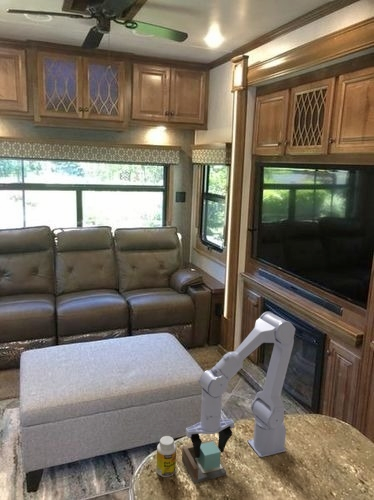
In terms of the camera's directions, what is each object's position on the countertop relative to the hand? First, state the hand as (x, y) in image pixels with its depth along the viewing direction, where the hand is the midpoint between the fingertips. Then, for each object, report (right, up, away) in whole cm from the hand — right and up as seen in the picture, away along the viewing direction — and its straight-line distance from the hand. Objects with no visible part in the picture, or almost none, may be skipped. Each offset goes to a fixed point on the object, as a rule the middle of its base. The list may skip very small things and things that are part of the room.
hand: (209, 452), depth 123 cm
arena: (-2, -5, +1) cm, 5 cm away
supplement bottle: (-13, -5, -1) cm, 14 cm away
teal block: (0, -3, +1) cm, 3 cm away
